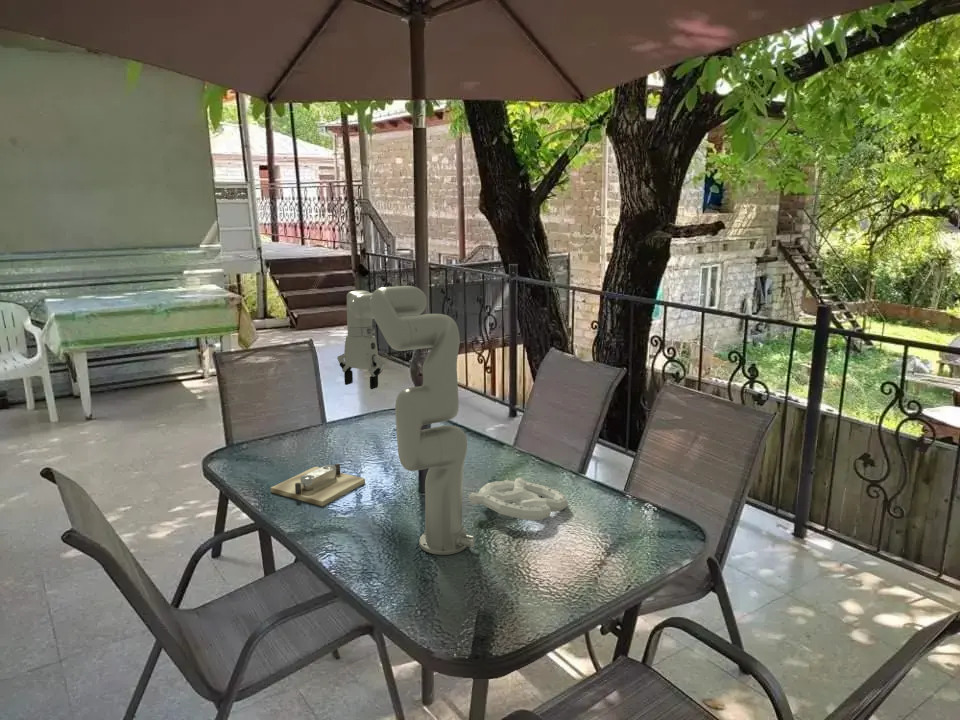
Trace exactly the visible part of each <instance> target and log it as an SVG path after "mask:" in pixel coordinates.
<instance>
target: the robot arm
mask: <svg viewBox="0 0 960 720" xmlns="http://www.w3.org/2000/svg"><path fill="white" fill-rule="evenodd" d="M427 303H428V299H427V296H426V293H425V292H424V291H423V290H421V289H420V288H419V287H416V286H413V285H400V286H399V285H398V286H384V287H378V288H377V289H375V290H374V291H373V292H370V291H369V290H352V291H348V293H347V294H346V316H347V317H346V320H347V321H346V322H347V326H346V327H347V335H346V336H345V341H344V353H343V354H340V355H338V356H337V360H338V363H339V367H340V368H341V369H342V372H343V373H344V376H343V377H344V385H345V386H349V385H350V384H353V382H354V380H353V379H354V377H353V376H354V375H353V374H354V373H353V370H352V369H359V370H363V371H365V370H366V371H368V372H369V374H370V376H369V389H370V390H375V389H377V388H378V387H379V376H380V374H381V373H382V372H383V370H384V368H385V365H386V364H385V362H384V361H383V360H381V358H379V352H378V345H377V338H376V336H375V333H376V330H375V329H373V327H374V326H373V319H374V322H375V323H376V325H377V326H378V329H379V330H380V333H381V334H382V335H383V338H384V340H385V341H386V343H387V344H388V346H389V348H391V349H393V350H395V351H399V352H402V351H403V352H405V351H411V350H412V351H414V350H421V349H430V348H431V350H430V351H429V352H428V354H427V355H426V357H425V358H424V361H423V364H422V384H421V385H420V386H418V385H417V386H412V387H408V388H405V389H403V390H401V391H400V392H399V394H398V395H397V397H396V400H395V407H394V409H395V410H394V411H395V413H394V415H395V425H396V426H395V427H396V428H395V429H396V443H397V444H396V445H397V455H398V459H399V462H400V464H401V466H402V467H403V468H404V470H407V471H410V472H416V471H422V470H426V469H428V471H427V473H426V477H425V482H424V483H425V484H424V495H425V496H424V500H425V501H424V509H425V511H424V513H425V514H424V517H425V518H424V519H425V520H424V522H425V523H424V528H425V530H424V533H423V534H422V535H421V536H420V537H419V540H418V541H419V542H418V544H419V547H420V548H421V549H422V550H423V551H425V552H427V553H429V554H433V555H438V556H448V555H454V554H458V553H460V552H463V551H464V550H465V549H467V548H472V549H473V548H474V547H475V536H474V535H471V534H467V528H466V527H465V526H463V492H464V491H463V490H464V489H463V488H464V485H463V483H464V482H463V481H464V467H465V460H466V457H467V452H468V451H467V450H468V439H467V435H466V433H465V432H464V430H462V428H461V427H458V426H456V425H441V426H436V427H430V428H426V429H422V427H423V426H426V425H431V424H435V423H437V424H438V423H443V422H446V421H450V420H452V419H455V418H456V417H457V415H458V412H459V407H460V406H459V403H460V402H459V385H458V382H459V381H458V370H457V368H458V366H457V365H458V364H457V363H458V356H459V351H460V350H459V349H460V341H461V339H460V338H461V337H460V330H459V328H458V325H457V323H456V321H455V320H454V318H452V317H451V316H449V315H447V314H442V313H425V314H422V313H424V311H425V310H426V308H427V306H428V305H427Z"/></svg>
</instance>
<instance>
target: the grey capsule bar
mask: <svg viewBox="0 0 960 720" xmlns="http://www.w3.org/2000/svg"><path fill="white" fill-rule="evenodd" d="M335 478H336V466H335V464H327V465H323V466H322V467H320V468H319V469H317V470H315V471H313V472H311V473H309V474H306V475H304V476H302V477H301V490H302V491H312V490H314V489H316V488H318V487H320V486H322V485H324V484H326V483H328V482H330V481H332V480H334V479H335Z"/></svg>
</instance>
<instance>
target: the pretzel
mask: <svg viewBox="0 0 960 720" xmlns="http://www.w3.org/2000/svg"><path fill="white" fill-rule="evenodd" d="M541 496H542V497H541ZM468 500H469V502H470V504H471V505H483V506H484V507H486V508H488V509H490V510H491V511H494V512H496V513H498V514H499V515H503V516H508V517H511V518H516V519H519V520H527V521H529V520H531V521H541V520H544V519H546V518H550V515H551V513H552V512H555V513H556V512H560V511H562V510H565V509H567V507H568V500H567V498H566V496H565V495H564V493H561V492H559V491H558V490H557V489H556V488H554V489H553V488H551V487H548V486H547V485H542V484H541V483H539V484H537V483H533V482H529V481H526V480H525V479H524V478H522V477H517V478H515V480H508V479H504V480H502V481H501V480H500V481H498V480H495V481H492V482H487V483H486V484H484V485H483V486H482V487H481V488H480V489H479V491H478V492H471V493H470V494H469V496H468ZM564 508H565V509H564Z"/></svg>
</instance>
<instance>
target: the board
mask: <svg viewBox="0 0 960 720" xmlns="http://www.w3.org/2000/svg"><path fill="white" fill-rule="evenodd" d="M334 465H335V466H336V478H335V479H334V480H332V481H330V482H328V483H326V484H324V485H322V486H320V487H318V488H316V489H314V490H312V491H302V490H301V477H302V476H304V475H306V474H309V473H311V472H313V471H315V470H317V469H319V468H321V467H319V466H313V467H312V468H309V469H307V470H305V471H303V472H300V473H299V474H296V475H295V476H293V477H290V478H288V479H286V480H284V481H282V482H280V483H278V484H275V485H273V486H271V487H270V492H271V493H273V494H276V495H279V496H284V497H287V498H290V499H295V500H299V501H300V502H301V501H302V502H306V503H309V504H312V505H316V506H320V507H323V506H326V505H327V504H330V503H331V502H333V501H335V500H336V499H339V498H340V497H342V496H344V495H346V494H348V493H349V492H352V491H354V489H357V488H358V487H361V486H362V485H364V484H366V478H364V477H360V476H356V475H351V474H348V473H344V472H341V464H340V463H334Z"/></svg>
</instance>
